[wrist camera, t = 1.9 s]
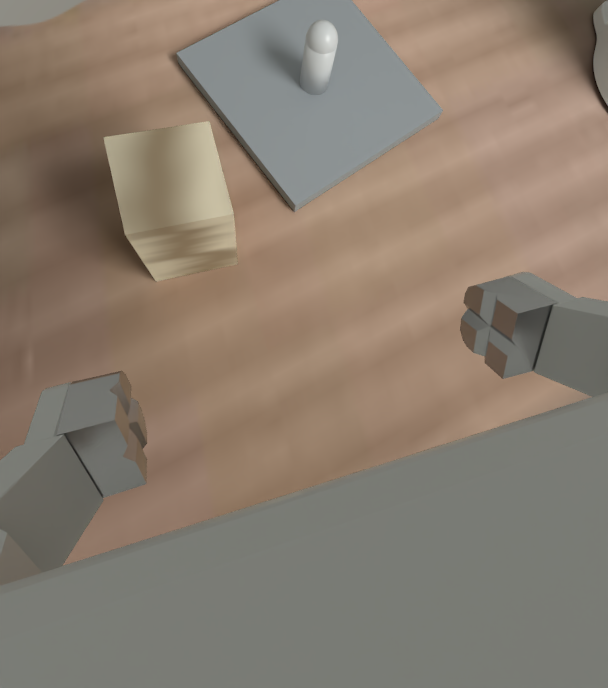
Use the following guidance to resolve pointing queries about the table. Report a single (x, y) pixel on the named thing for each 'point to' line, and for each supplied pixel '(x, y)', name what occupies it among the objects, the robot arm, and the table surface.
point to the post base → (300, 119)
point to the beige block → (173, 199)
